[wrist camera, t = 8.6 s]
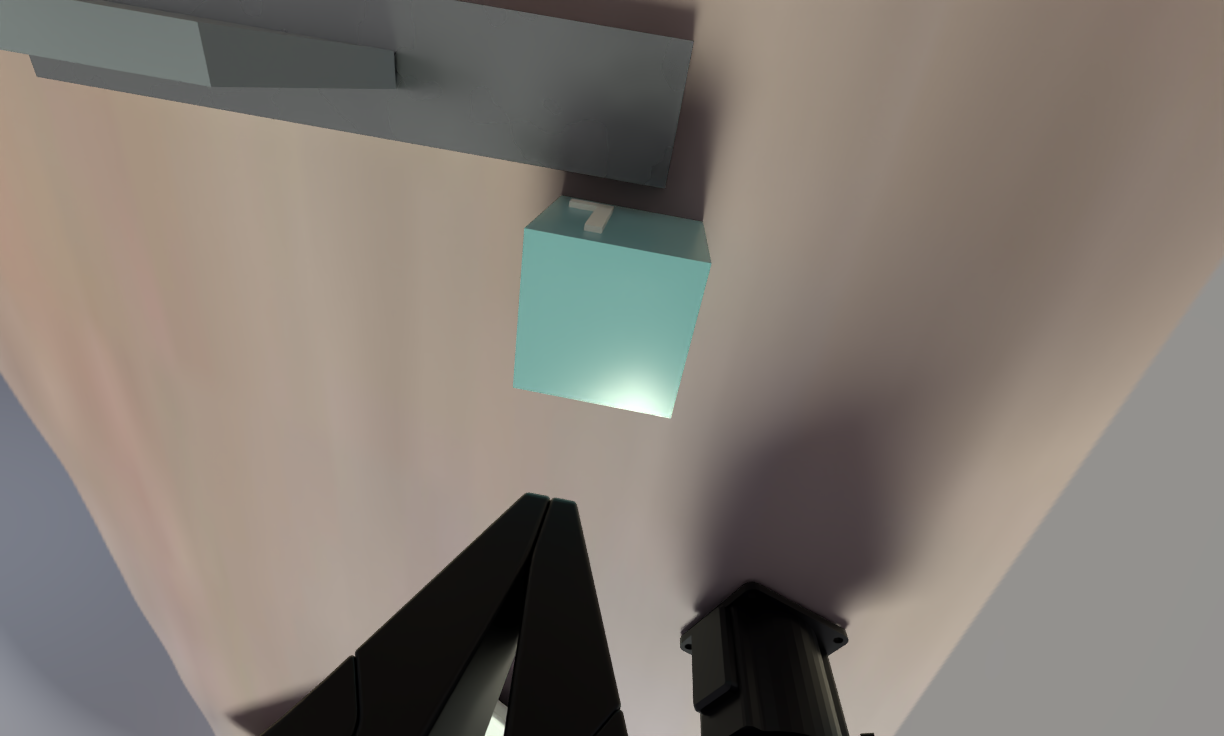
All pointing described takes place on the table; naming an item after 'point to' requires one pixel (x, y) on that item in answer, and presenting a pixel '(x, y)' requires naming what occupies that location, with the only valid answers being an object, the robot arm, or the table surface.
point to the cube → (609, 304)
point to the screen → (188, 47)
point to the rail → (458, 81)
